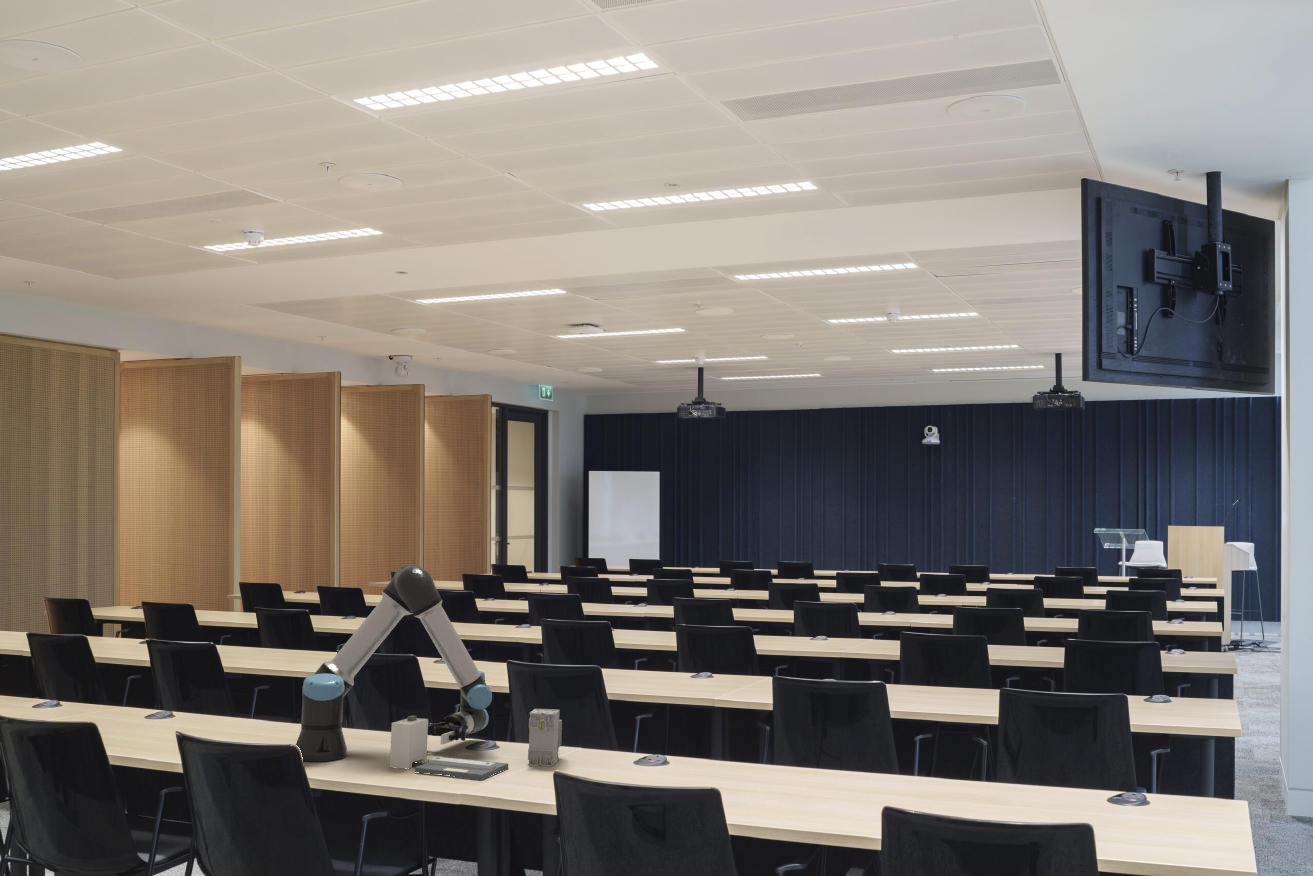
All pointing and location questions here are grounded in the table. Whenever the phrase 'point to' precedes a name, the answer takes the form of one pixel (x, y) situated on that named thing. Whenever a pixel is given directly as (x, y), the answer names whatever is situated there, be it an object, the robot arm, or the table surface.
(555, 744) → the circuit breaker
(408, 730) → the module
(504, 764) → the panel
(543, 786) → the table surface
